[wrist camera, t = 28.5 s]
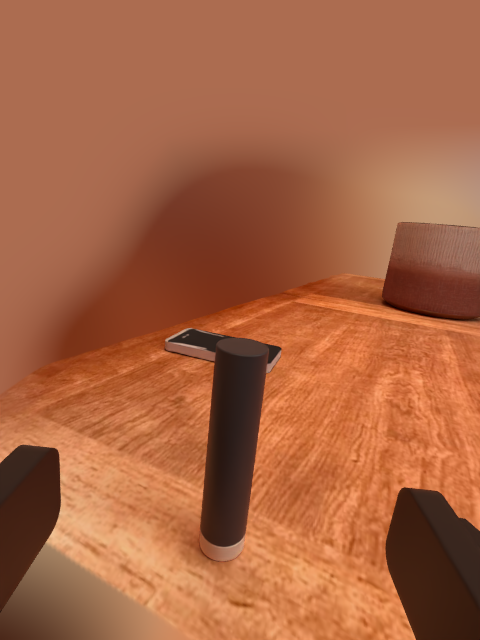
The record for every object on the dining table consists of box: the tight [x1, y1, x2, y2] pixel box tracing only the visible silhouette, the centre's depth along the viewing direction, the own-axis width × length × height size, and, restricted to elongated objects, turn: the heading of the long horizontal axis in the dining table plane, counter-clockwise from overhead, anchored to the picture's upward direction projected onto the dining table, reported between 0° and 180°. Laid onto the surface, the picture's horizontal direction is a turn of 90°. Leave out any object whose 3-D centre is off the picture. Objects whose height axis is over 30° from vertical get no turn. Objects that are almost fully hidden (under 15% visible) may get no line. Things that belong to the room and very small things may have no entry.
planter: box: [382, 222, 480, 319], centre depth 97 cm, size 25×25×22 cm
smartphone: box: [165, 328, 281, 373], centre depth 50 cm, size 8×1×15 cm
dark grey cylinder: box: [199, 338, 269, 562], centre depth 19 cm, size 3×3×12 cm
